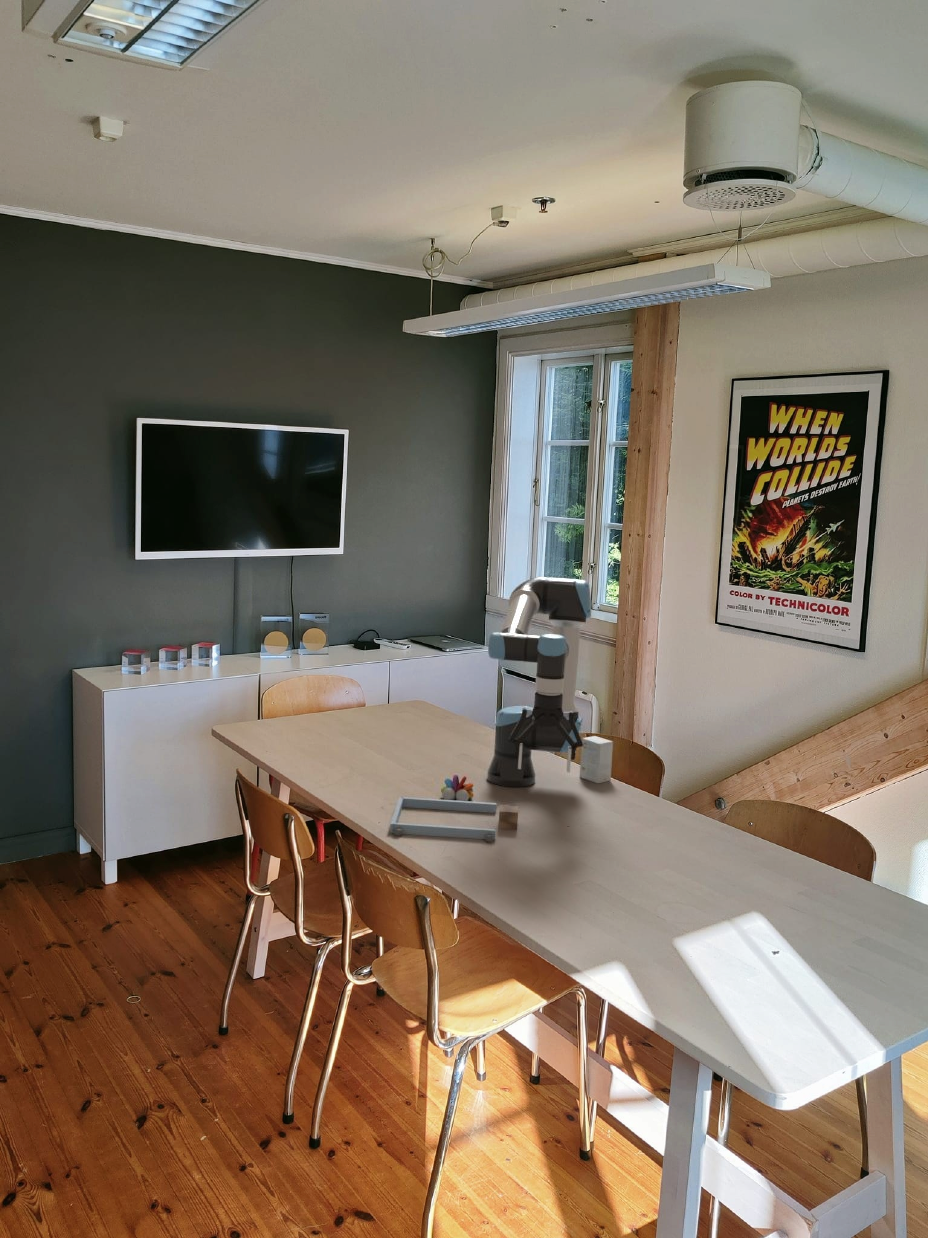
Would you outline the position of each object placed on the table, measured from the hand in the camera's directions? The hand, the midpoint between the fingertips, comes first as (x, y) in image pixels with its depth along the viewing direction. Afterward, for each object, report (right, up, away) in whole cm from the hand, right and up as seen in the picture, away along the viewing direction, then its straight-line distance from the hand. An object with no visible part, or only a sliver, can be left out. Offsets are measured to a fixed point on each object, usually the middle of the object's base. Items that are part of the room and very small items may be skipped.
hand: (543, 769), depth 274 cm
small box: (+20, -11, +50) cm, 55 cm away
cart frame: (-27, -15, +3) cm, 31 cm away
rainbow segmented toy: (-24, -12, +24) cm, 36 cm away
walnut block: (-10, -16, +3) cm, 19 cm away
